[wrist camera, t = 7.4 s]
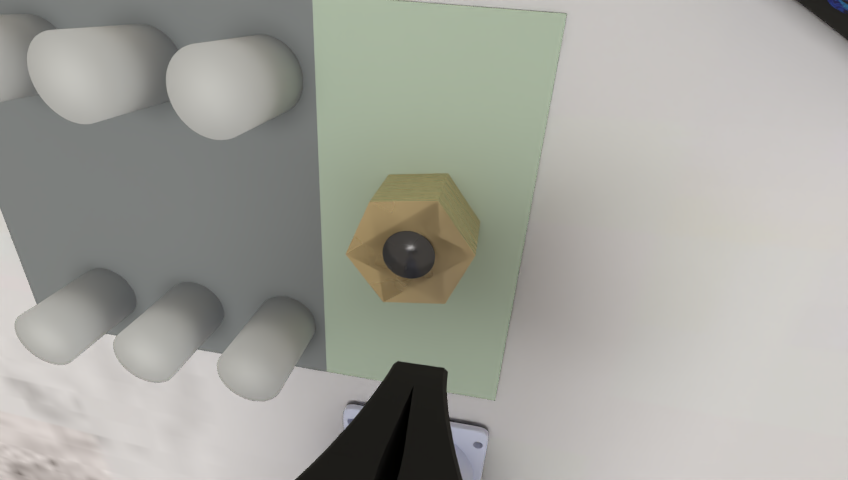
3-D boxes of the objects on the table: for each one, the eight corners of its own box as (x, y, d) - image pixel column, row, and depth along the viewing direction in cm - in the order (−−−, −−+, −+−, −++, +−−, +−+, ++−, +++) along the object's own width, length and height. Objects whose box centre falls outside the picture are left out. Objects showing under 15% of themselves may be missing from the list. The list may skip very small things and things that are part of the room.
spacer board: (495, 397, 24) (491, 468, 21) (47, 320, 27) (-25, 370, 24) (566, 13, 16) (582, 17, 12) (-88, -37, 19) (-231, -46, 15)
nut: (481, 266, 21) (477, 305, 18) (372, 264, 22) (352, 302, 19) (479, 172, 19) (473, 201, 16) (359, 175, 20) (335, 202, 17)
